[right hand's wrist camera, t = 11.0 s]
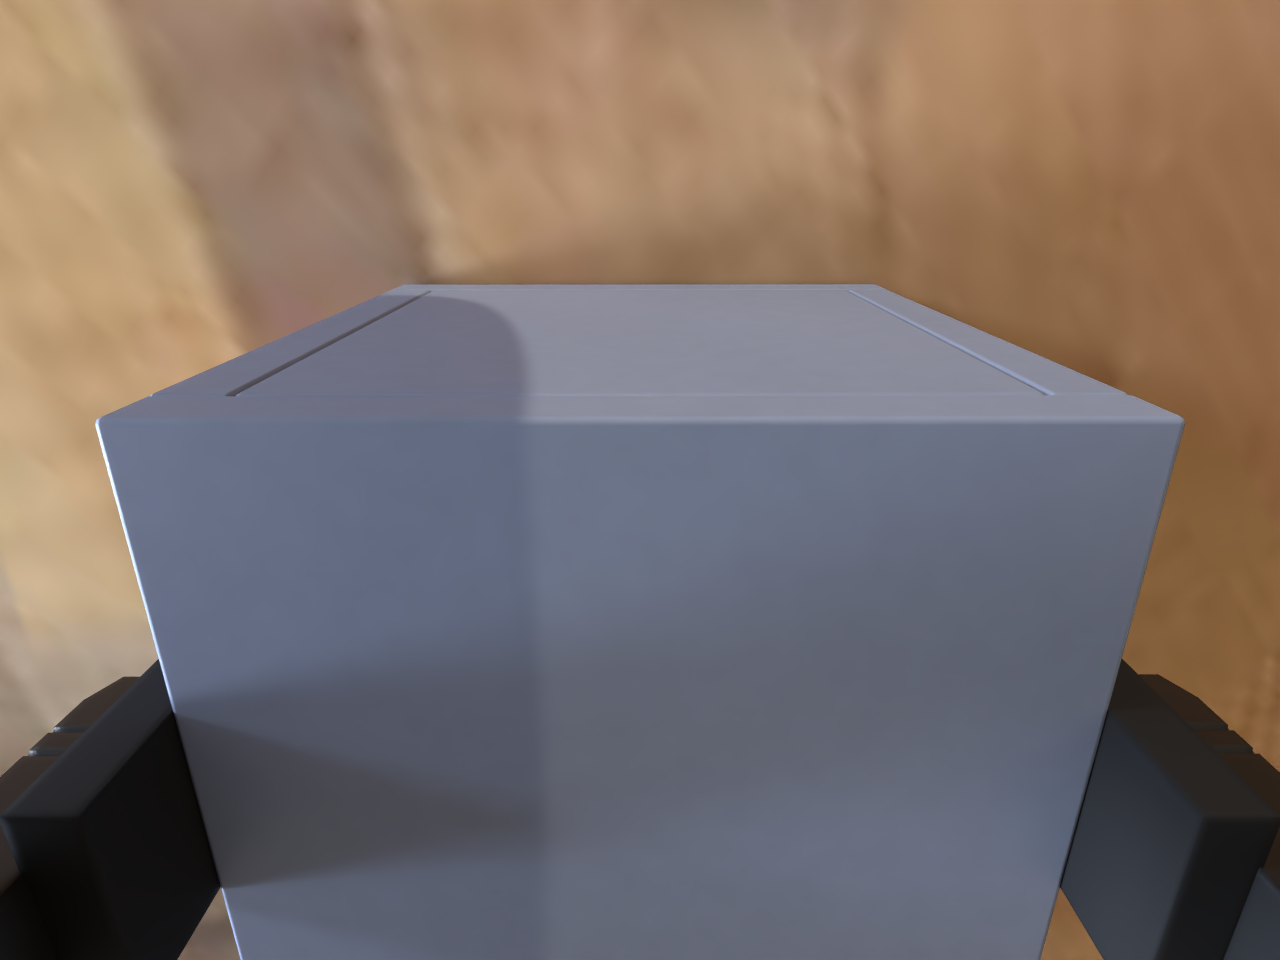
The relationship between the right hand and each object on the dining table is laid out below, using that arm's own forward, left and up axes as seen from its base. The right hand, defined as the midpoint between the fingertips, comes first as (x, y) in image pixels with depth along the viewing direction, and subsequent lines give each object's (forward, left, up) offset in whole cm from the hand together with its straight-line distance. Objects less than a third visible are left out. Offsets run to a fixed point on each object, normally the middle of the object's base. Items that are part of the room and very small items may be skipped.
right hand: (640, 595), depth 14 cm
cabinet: (0, -5, -5) cm, 7 cm away
